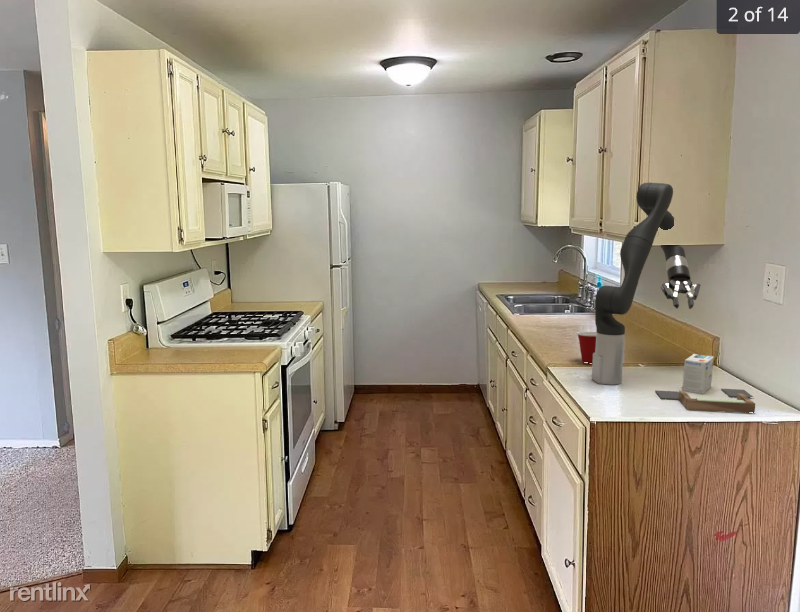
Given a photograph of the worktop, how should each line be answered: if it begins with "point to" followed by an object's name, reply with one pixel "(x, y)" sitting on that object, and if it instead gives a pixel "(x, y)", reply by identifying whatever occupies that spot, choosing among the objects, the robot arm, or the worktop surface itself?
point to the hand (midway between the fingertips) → (684, 307)
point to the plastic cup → (587, 345)
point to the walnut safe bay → (717, 403)
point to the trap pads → (675, 394)
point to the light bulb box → (698, 373)
